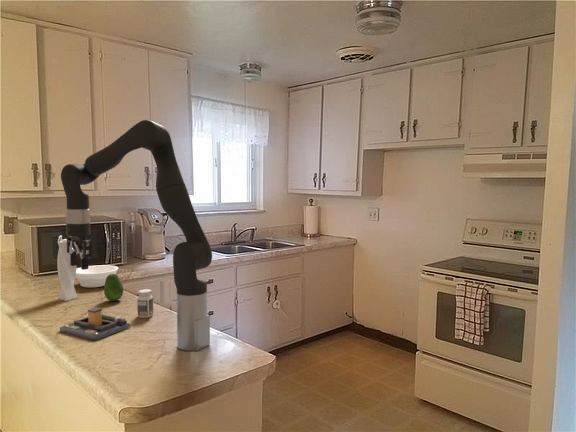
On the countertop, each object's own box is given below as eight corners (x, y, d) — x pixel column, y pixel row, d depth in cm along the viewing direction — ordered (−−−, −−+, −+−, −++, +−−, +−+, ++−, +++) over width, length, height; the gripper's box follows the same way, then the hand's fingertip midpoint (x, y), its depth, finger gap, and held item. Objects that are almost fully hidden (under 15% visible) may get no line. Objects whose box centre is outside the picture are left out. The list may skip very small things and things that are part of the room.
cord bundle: (127, 323, 143) (127, 317, 143) (121, 325, 141) (121, 319, 141) (96, 316, 150) (96, 310, 150) (90, 318, 148) (90, 312, 148)
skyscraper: (54, 299, 177) (51, 236, 175) (70, 295, 183) (68, 234, 181) (65, 301, 173) (63, 237, 171) (81, 297, 180) (79, 235, 178)
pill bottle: (148, 312, 160) (147, 288, 159) (156, 315, 156) (155, 290, 155) (134, 316, 155) (134, 290, 155) (142, 319, 152) (142, 293, 151)
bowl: (126, 281, 212) (126, 265, 211) (104, 291, 191) (103, 274, 190) (88, 279, 214) (88, 264, 213) (62, 289, 193) (62, 273, 192)
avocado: (101, 300, 175) (100, 273, 174) (119, 297, 181) (118, 271, 180) (108, 304, 169) (107, 276, 169) (126, 301, 175) (126, 274, 174)
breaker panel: (129, 327, 143) (129, 320, 143) (95, 340, 130) (95, 332, 130) (95, 319, 151) (95, 312, 151) (59, 331, 138) (59, 323, 138)
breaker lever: (102, 324, 141) (101, 308, 141) (94, 327, 138) (93, 311, 138) (96, 322, 143) (95, 307, 142) (88, 325, 140) (87, 309, 139)
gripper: (98, 222, 140) (99, 268, 141) (80, 219, 148) (81, 262, 150) (76, 224, 134) (77, 272, 135) (58, 220, 143) (59, 265, 144)
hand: (79, 267), depth 142 cm, fingers open, 8 cm apart
